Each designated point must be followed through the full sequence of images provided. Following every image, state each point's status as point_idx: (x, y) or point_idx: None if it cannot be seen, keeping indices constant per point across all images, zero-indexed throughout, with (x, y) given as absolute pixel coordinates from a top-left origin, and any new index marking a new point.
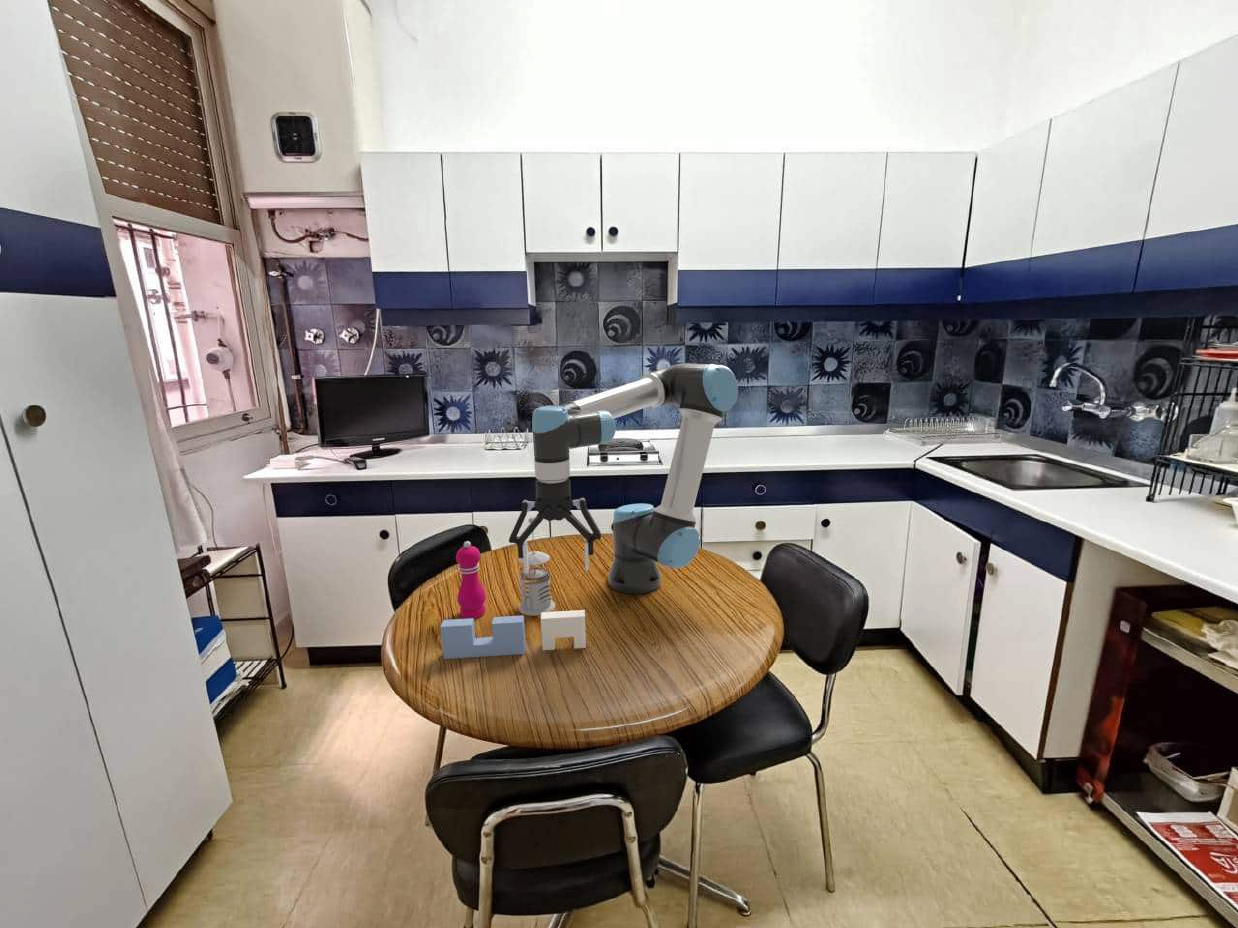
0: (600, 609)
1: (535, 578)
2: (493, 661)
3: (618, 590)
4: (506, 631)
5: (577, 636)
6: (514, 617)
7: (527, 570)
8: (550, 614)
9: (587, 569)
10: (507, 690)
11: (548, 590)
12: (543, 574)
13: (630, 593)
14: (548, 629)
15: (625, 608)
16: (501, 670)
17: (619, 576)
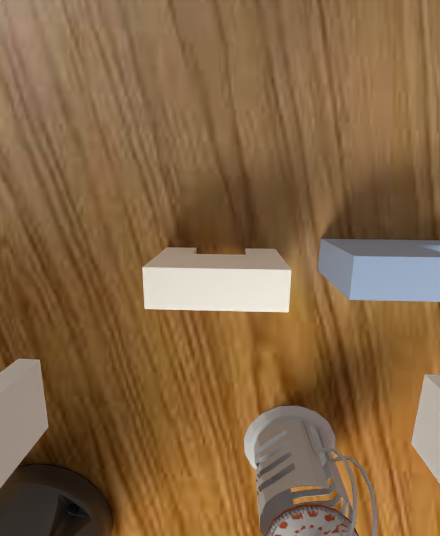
0: (132, 409)
1: (310, 508)
2: (399, 215)
3: (87, 482)
4: (395, 251)
5: (181, 253)
6: (380, 290)
7: (437, 387)
8: (258, 294)
9: (22, 362)
10: (364, 80)
11: (262, 488)
12: (282, 531)
13: (59, 467)
14: (263, 260)
15: (71, 405)
16: (379, 172)
17: (69, 525)
